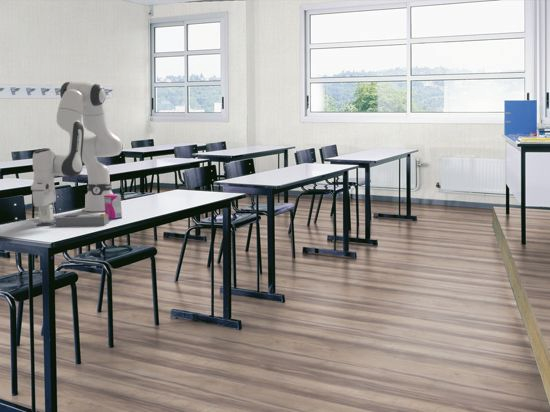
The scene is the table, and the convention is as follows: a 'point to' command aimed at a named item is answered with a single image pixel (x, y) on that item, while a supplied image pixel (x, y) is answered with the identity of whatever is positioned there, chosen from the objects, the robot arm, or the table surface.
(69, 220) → the grey flat block
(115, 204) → the supplement box
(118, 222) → the table surface
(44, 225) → the mat
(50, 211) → the charger
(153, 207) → the table surface
